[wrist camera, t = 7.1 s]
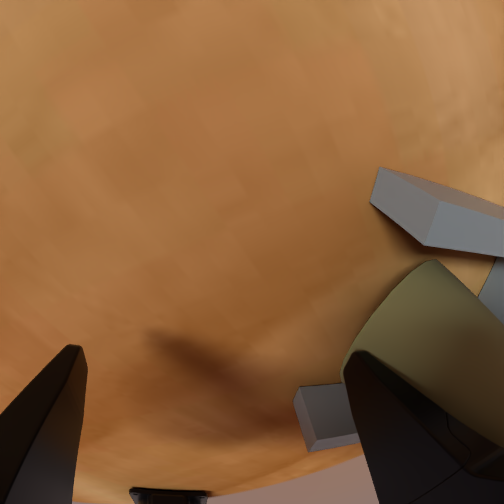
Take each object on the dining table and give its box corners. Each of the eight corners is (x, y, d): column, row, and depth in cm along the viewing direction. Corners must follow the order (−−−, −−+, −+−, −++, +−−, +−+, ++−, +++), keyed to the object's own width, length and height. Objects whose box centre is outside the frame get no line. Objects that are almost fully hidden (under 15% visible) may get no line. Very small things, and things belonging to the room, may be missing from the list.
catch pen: (437, 378, 16) (458, 411, 14) (292, 401, 14) (308, 452, 12) (524, 215, 11) (564, 243, 9) (379, 166, 9) (439, 200, 6)
